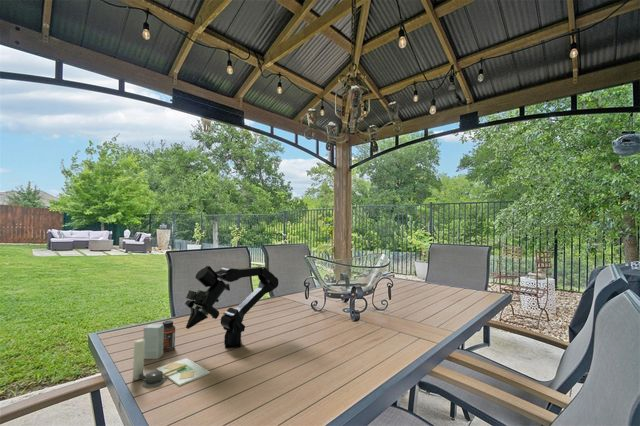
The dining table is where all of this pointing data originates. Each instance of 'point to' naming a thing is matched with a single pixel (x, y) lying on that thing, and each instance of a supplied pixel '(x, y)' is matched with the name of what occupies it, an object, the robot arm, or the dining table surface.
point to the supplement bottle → (169, 336)
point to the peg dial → (139, 365)
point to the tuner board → (180, 373)
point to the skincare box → (153, 341)
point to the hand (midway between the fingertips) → (186, 328)
